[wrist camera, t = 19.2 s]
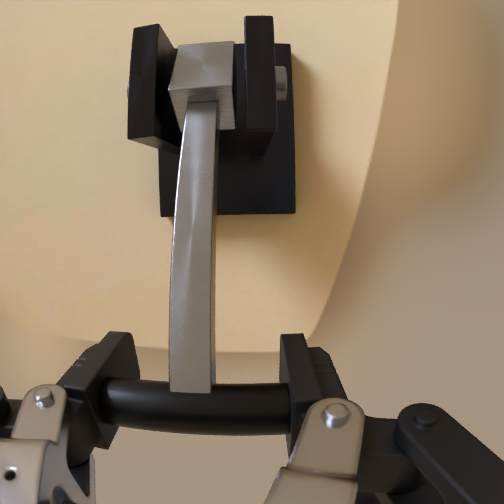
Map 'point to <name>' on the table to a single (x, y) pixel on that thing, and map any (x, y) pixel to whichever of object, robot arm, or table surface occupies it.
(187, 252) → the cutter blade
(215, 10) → the table surface
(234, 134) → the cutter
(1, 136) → the table surface
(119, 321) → the table surface
